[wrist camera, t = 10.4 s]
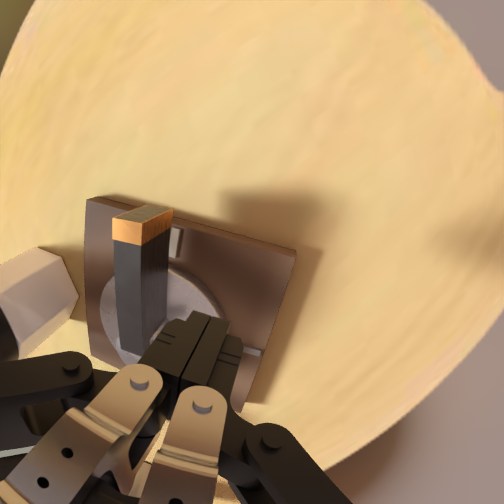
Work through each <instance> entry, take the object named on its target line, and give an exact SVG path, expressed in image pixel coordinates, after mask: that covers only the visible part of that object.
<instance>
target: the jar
mask: <svg viewBox="0 0 504 504" xmlns="http://www.w3.org/2000/svg"><path fill="white" fill-rule="evenodd" d="M78 298H79V295H78V293H77V291H76V289H75V287H74V284H73V282H72V280H71V278H70V276H69V273H68V271H67V269H66V267H65V264H64V262H63V259H62V257H60V256H58V255H55V254H52V253H50V252H47V251H44V250H42V249H39V248H37V247H34V248H32V249H30V250H28V251H26V252H24V253H22V254H20V255H18V256H16V257H14V258H12V259H10V260H8V261H6V262H4V263H2V264H0V362H7V361H14V360H20V359H24V358H26V357H27V356H28V355H29V354H30V353H31V352H32V351H33V350H34V349H36V348H37V347H38V346H39V345H40V344H41V343H42V342H43V341H45V340H46V339H47V338H48V337H49V336H50V335H51V334H53V333H54V332H55V331H56V330H57V329H58V328H60V327H61V326H62V325H63V324H64V323H65V322H67V321H68V320H69V318H70V316H71V313H72V311H73V309H74V307H75V305H76V302H77V300H78Z"/></svg>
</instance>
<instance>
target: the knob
mask: <svg viewBox="0 0 504 504" xmlns="http://www.w3.org/2000/svg"><path fill="white" fill-rule="evenodd" d="M172 218H173V208H168V207H162V206H156V205H150V204H146V205H144V206H141V207H139V208H136V209H133V210H131V211H128V212H126V213H123V214H121V215H118V216H116V217H113V219H112V239H114V277H112V278H111V279H110V281H109V282H108V283H107V284H106V286H105V287H104V290H103V292H102V295H101V299H100V316H101V321H102V324H103V328H104V330H105V332H106V335H107V337H108V338H109V340H110V342H111V343H112V345H113V346H114V348H115V349H116V350H117V352H118V354H119V356H120V358H121V359H122V361H123V362H124V363H125V364H126V365H131V364H137V363H138V361H139V360H140V359H141V357H142V356H143V354H144V353H145V352H146V350H147V349H148V347H149V346H150V345H151V343H152V342H153V341H154V340H155V338H156V337H157V335H158V334H159V333H160V331H161V330H162V328H163V327H164V326H165V324H166V323H168V322H170V321H172V320H174V319H175V318H178V319H181V320H184V321H186V320H187V318H188V317H189V315H190V314H191V312H192V311H193V310H195V311H198V312H201V313H204V314H207V315H211V316H214V317H217V318H221V319H224V320H226V317H225V314H224V312H223V309H222V307H221V306H220V304H219V302H218V300H217V299H216V298H215V296H214V295H213V293H212V292H211V291H210V290H209V289H208V288H207V287H206V286H205V285H204V284H203V283H202V282H201V281H200V280H199V279H197V278H196V277H195V276H193V275H192V274H190V273H189V272H187V271H185V270H184V269H182V268H179V267H177V266H175V265H172V264H169V263H168V261H169V245H170V230H171V227H172Z"/></svg>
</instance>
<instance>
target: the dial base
mask: <svg viewBox="0 0 504 504" xmlns="http://www.w3.org/2000/svg"><path fill="white" fill-rule="evenodd" d="M136 208H139V207H135V206H131V205H127V204H124V203H120V202H116V201H112V200H108V199H105V198H101V197H94V198H90V199H87V200H86V213H85V235H84V278H85V300H86V314H87V325H88V335H89V343H90V351H91V355H92V356H94V357H96V358H98V359H100V360H102V361H104V362H106V363H108V364H110V365H112V366H114V367H116V368H118V369H120V370H121V369H122V368H123V367H125V366H127V365H126V364H125V363H124V362H123V361H122V359H121V358H120V356H119V354H118V352H117V350H116V349H115V348H114V346H113V345H112V343H111V342H110V340H109V338H108V337H107V335H106V332H105V330H104V328H103V324H102V321H101V316H100V299H101V295H102V292H103V290H104V287H105V286H106V284H107V283H108V282H109V281H110V279H111V278H112V277H114V239H112V219H113V217H116V216H118V215H121V214H123V213H126V212H128V211H131V210H133V209H136ZM295 259H296V251H294V250H291V249H287V248H284V247H280V246H277V245H273V244H270V243H266V242H262V241H259V240H255V239H252V238H248V237H245V236H241V235H238V234H234V233H230V232H227V231H223V230H220V229H216V228H212V227H209V226H205V225H202V224H198V223H194V222H191V221H187V220H183V219H180V218H176V217H173V218H172V227H171V230H170V245H169V261H168V263H169V264H172V265H175V266H177V267H179V268H182V269H184V270H185V271H187V272H189V273H190V274H192V275H193V276H195V277H196V278H197V279H199V280H200V281H201V282H202V283H203V284H204V285H205V286H206V287H207V288H208V289H209V290H210V291H211V292H212V293H213V295H214V296H215V298H216V299H217V300H218V302H219V304H220V306H221V307H222V309H223V312H224V314H225V317H226V320H227V321H231V325H230V329H229V333H228V334H229V335H232V336H236V337H239V338H241V340H242V343H243V347H244V349H243V353H242V357H241V360H240V364H239V367H238V371H237V375H236V378H235V382H234V385H233V389H232V392H231V396H230V403H231V406H232V409H233V410H234V411H236V412H240V413H241V411H242V408H243V406H244V403H245V401H246V398H247V396H248V393H249V390H250V388H251V385H252V383H253V380H254V377H255V375H256V372H257V369H258V367H259V364H260V361H261V358H262V356H263V353H264V350H265V347H266V345H267V342H268V339H269V336H270V333H271V331H272V328H273V325H274V322H275V319H276V316H277V313H278V311H279V308H280V305H281V302H282V299H283V296H284V293H285V290H286V287H287V284H288V281H289V278H290V275H291V272H292V269H293V266H294V262H295Z"/></svg>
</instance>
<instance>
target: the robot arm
mask: <svg viewBox="0 0 504 504" xmlns="http://www.w3.org/2000/svg"><path fill="white" fill-rule="evenodd" d="M230 325H231V321H227V320H224V319H221V318H217V317H214V316H211V315H207V314H204V313H201V312H198V311H195V310H193V311H192V312H191V314H190V315H189V317H188V318H187V320H186V321H184V320H181V319H178V318H175V319H174V320H172V321H170V322H168V323H166V324H165V326H164V327H163V328H162V330H161V331H160V333H159V334H158V335H157V337H156V338H155V340H154V341H153V342H152V343H151V345H150V346H149V347H148V349H147V350H146V352H145V353H144V354H143V356H142V357H141V359H140V360H139V361H138V363H137V364H131V365H127V366H125V367H123V368H122V369H121V370H120V371H119V372H108V371H103V370H97V369H93V367H92V363H91V361H90V360H89V358H88V357H86V356H85V355H83V354H81V353H79V352H74V351H67V352H61V353H56V354H50V355H44V356H39V357H33V358H27V359H20V360H14V361H7V362H0V451H3V450H10V449H17V448H23V447H28V446H34V445H35V446H34V447H33V448H32V450H31V451H30V452H29V453H24V454H19V455H13V456H7V457H2V458H0V504H213V499H214V494H215V488H216V482H217V476H218V475H220V476H221V477H223V478H225V479H227V480H228V484H229V486H230V487H231V489H232V490H233V492H234V493H235V495H236V497H237V498H238V500H239V501H240V503H241V504H352V503H351V502H350V500H348V498H347V497H346V496H345V495H344V494H343V493H342V492H341V491H340V490H339V489H338V488H337V486H336V485H335V484H334V483H333V482H332V481H331V480H330V479H329V477H328V476H327V475H326V474H325V473H324V472H323V471H322V469H321V468H320V467H319V466H318V465H317V464H316V463H315V461H314V460H313V459H312V458H311V457H310V455H309V454H308V453H307V452H306V451H305V449H304V448H303V447H302V446H301V445H300V443H299V442H298V441H297V440H296V438H295V437H294V436H293V435H292V434H291V433H290V431H288V430H287V429H286V428H284V427H282V426H280V425H277V424H273V423H262V424H258V425H256V426H254V425H253V424H251V423H249V422H247V421H245V420H244V419H242V418H241V417H239V416H238V415H237V414H236V413H235V412H234V410H233V409H232V406H231V403H230V396H231V392H232V389H233V385H234V382H235V378H236V375H237V371H238V367H239V364H240V360H241V357H242V353H243V349H244V347H243V343H242V340H241V338H239V337H236V336H232V335H229V334H228V333H229V329H230ZM48 401H49V402H48ZM166 418H167V419H170V420H171V421H170V424H169V426H168V429H167V432H166V435H165V438H164V441H163V444H162V446H161V449H160V450H158V451H157V452H156V454H155V457H154V459H153V462H152V465H150V464H148V463H146V462H144V461H145V459H146V457H147V456H148V454H149V452H150V451H151V449H152V447H153V446H154V444H155V442H156V441H157V439H158V437H159V435H160V432H161V428H162V426H163V424H164V422H165V420H166Z"/></svg>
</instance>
